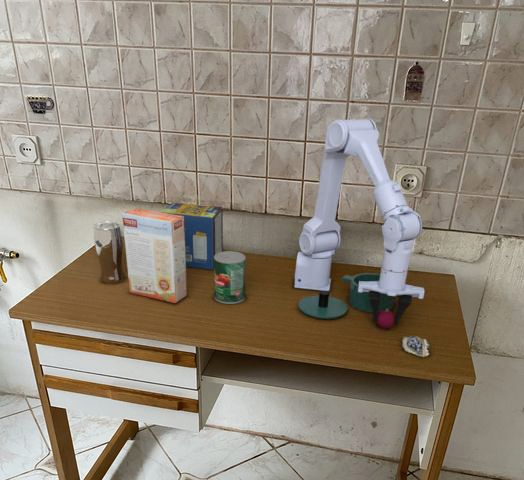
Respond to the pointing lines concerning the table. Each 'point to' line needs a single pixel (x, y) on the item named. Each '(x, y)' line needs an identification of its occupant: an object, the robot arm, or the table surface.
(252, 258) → the table surface
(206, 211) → the protein box
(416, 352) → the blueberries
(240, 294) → the canned tomato
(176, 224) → the cracker box
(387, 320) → the beet
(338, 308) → the lid
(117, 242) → the beer glass
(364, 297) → the pot
